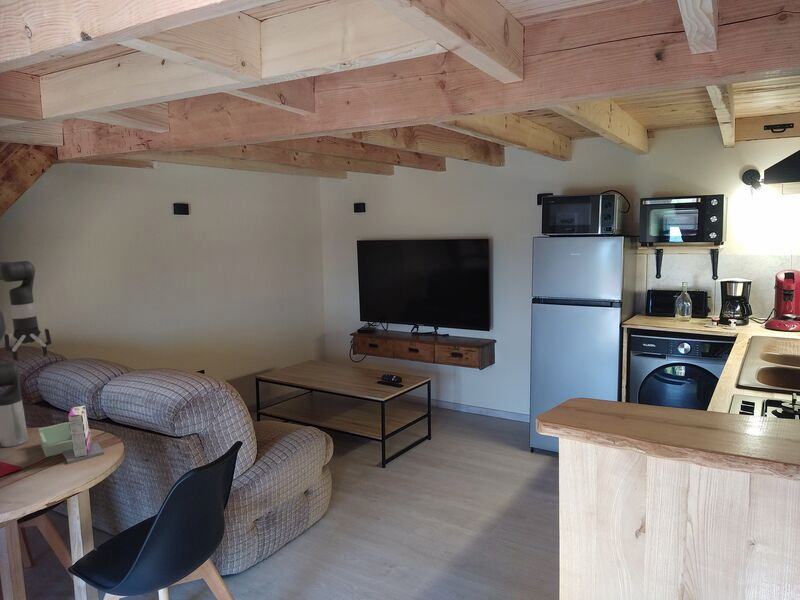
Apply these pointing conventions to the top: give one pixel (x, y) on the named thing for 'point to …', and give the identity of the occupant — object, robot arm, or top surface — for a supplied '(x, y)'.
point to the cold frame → (56, 439)
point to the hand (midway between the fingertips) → (30, 358)
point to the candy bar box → (79, 431)
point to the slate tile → (94, 451)
